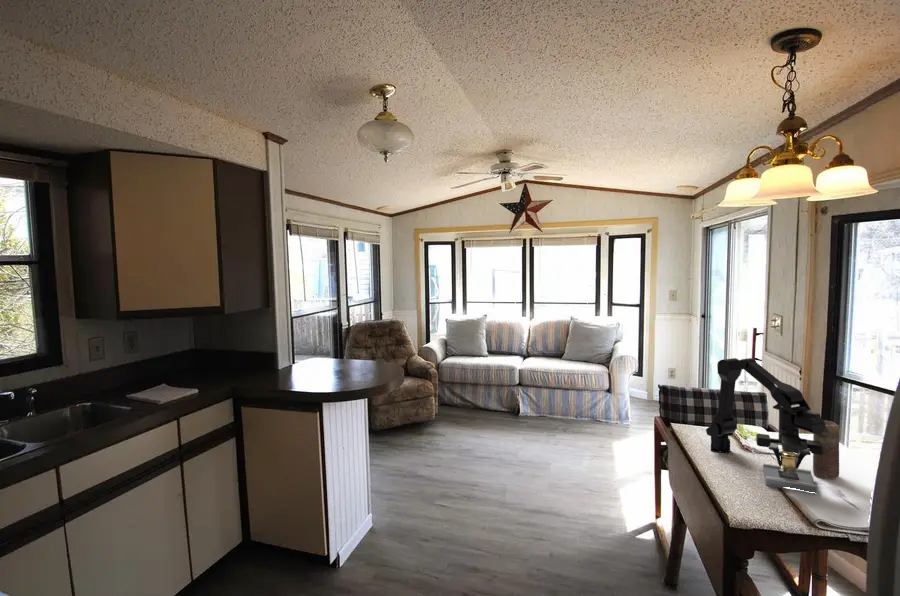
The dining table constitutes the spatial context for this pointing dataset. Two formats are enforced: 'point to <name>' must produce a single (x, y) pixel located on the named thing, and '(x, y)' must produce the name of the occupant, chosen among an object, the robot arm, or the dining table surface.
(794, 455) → the gold flared round piece
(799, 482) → the jig
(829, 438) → the candle
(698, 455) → the dining table surface
